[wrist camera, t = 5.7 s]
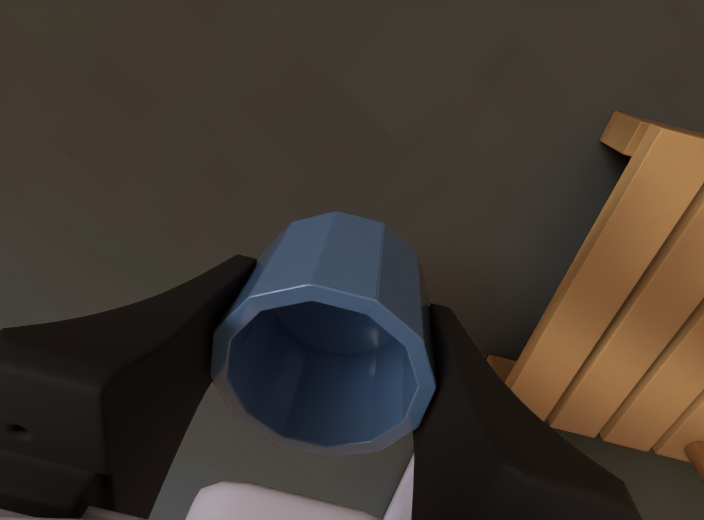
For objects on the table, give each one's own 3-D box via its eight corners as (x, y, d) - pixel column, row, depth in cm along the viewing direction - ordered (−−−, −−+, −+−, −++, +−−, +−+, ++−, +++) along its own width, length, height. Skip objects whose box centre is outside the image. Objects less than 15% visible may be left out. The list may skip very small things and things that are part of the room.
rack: (672, 417, 24) (786, 582, 17) (480, 369, 23) (513, 516, 16) (882, 180, 17) (1226, 290, 10) (613, 110, 17) (767, 170, 10)
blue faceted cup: (398, 369, 16) (397, 475, 12) (251, 333, 15) (204, 428, 12) (448, 239, 13) (466, 323, 9) (271, 193, 13) (218, 260, 9)
